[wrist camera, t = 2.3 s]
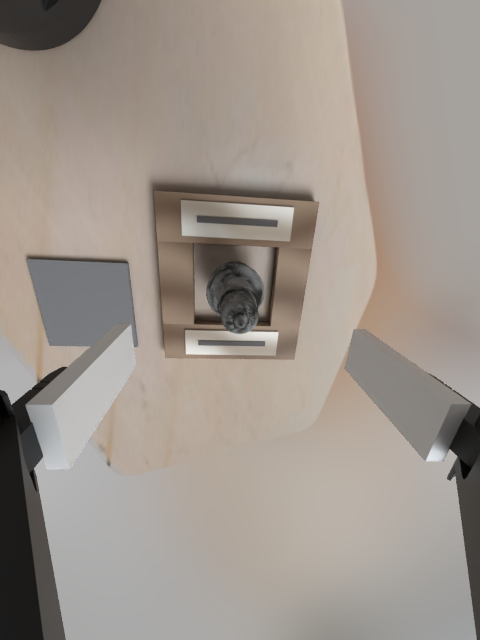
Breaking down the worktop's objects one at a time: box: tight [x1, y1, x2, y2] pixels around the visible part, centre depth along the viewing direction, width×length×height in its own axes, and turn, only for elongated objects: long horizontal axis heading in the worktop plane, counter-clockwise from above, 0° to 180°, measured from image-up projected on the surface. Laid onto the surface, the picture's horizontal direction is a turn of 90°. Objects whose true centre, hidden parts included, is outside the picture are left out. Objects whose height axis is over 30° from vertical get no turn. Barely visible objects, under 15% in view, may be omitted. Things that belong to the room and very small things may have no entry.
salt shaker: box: [206, 262, 264, 334], centre depth 22 cm, size 6×6×12 cm
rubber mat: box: [26, 259, 138, 347], centre depth 27 cm, size 10×10×1 cm
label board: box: [154, 191, 319, 360], centre depth 27 cm, size 18×16×2 cm
